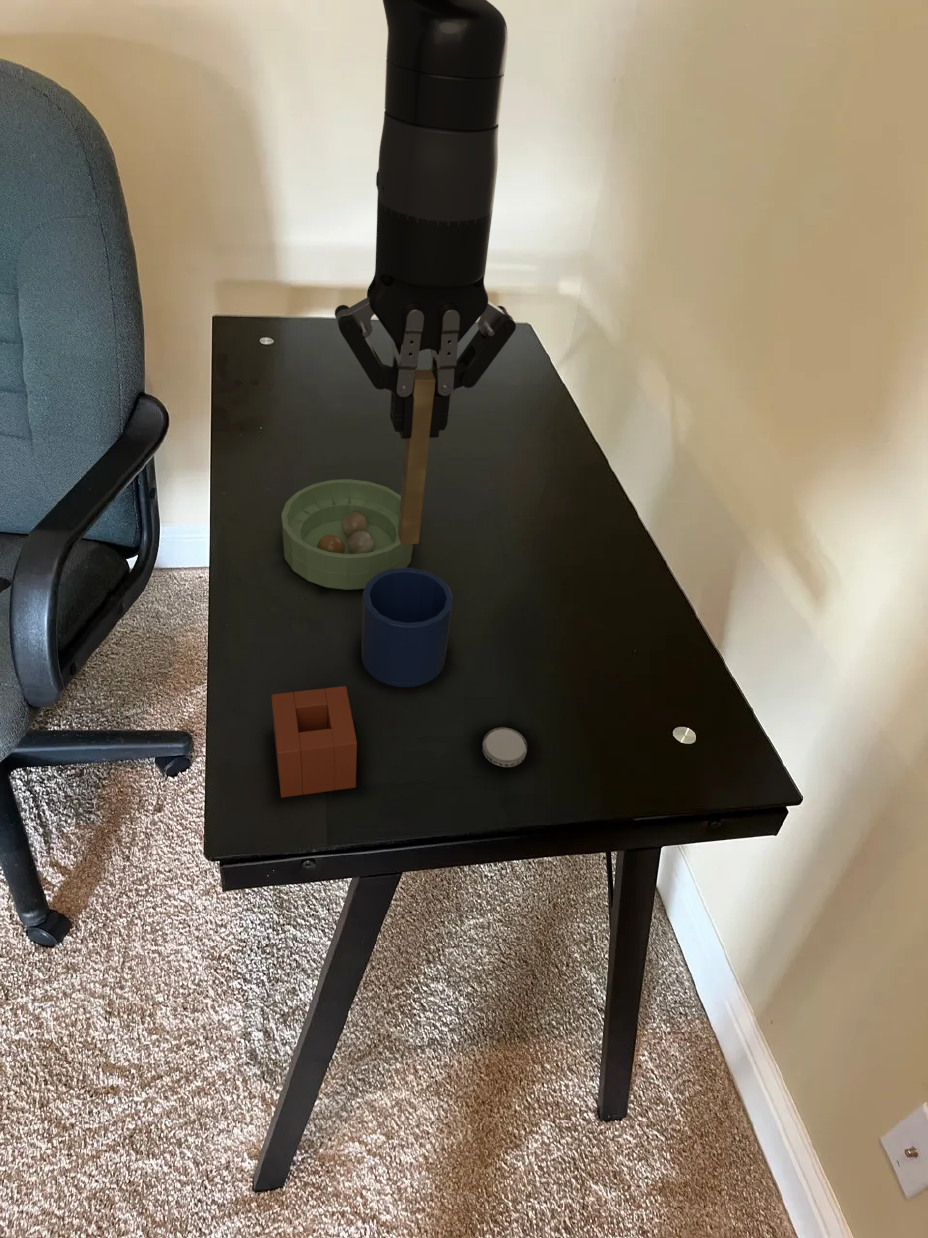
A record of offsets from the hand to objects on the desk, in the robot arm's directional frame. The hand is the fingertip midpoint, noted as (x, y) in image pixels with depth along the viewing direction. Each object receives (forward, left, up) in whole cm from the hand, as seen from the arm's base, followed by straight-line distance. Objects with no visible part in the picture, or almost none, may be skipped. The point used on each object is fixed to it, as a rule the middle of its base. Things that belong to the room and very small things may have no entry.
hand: (418, 432), depth 65 cm
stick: (0, +1, -11) cm, 11 cm away
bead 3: (-2, +15, -23) cm, 27 cm away
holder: (-10, -12, -25) cm, 29 cm away
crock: (0, 0, -25) cm, 25 cm away
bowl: (-3, +17, -25) cm, 30 cm away
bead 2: (-2, +19, -23) cm, 29 cm away
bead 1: (-5, +15, -23) cm, 28 cm away
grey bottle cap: (+7, -13, -25) cm, 29 cm away
